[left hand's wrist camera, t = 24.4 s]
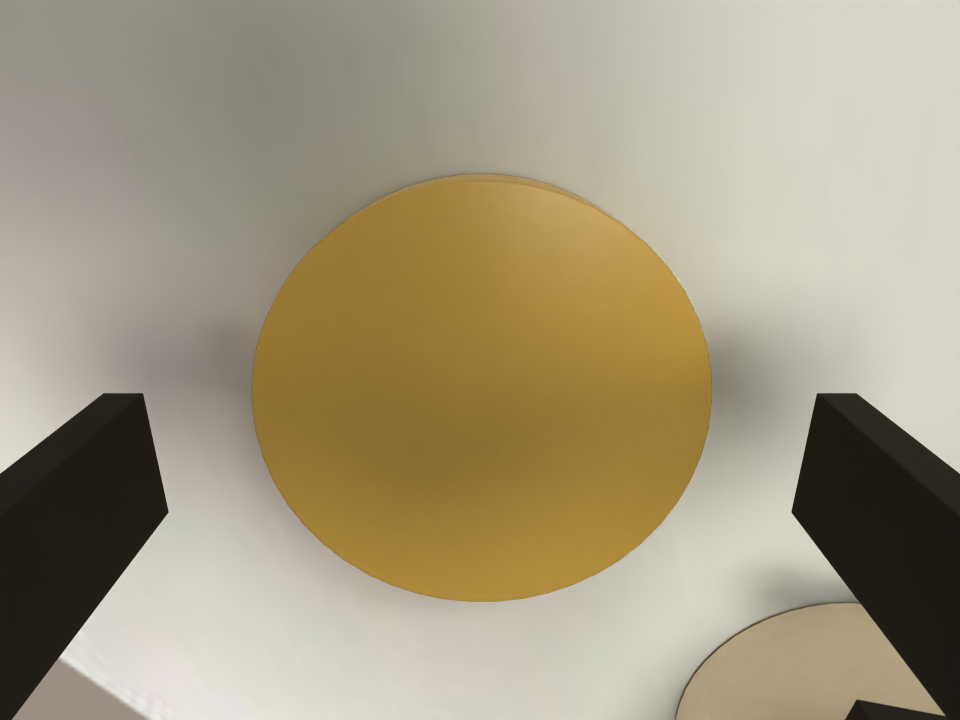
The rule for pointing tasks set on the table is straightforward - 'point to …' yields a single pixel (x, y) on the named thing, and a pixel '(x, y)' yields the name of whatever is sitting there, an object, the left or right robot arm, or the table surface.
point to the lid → (481, 389)
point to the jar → (804, 670)
